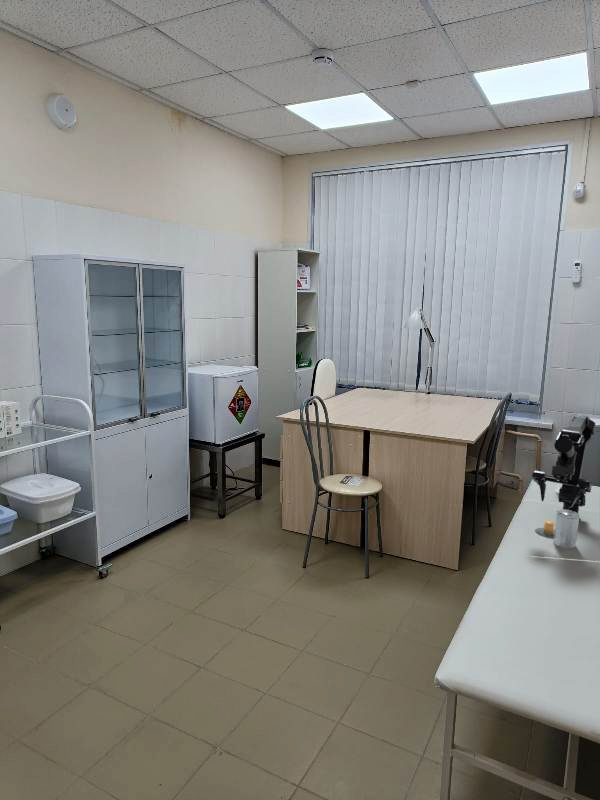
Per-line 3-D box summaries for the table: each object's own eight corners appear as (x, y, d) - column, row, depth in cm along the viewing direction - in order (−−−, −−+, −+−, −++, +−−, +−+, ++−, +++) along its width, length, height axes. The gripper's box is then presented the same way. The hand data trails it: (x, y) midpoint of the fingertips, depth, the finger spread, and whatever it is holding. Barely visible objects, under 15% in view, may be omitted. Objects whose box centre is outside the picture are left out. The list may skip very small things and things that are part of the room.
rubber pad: (532, 528, 209) (532, 526, 209) (557, 530, 207) (557, 528, 207) (538, 538, 200) (538, 537, 200) (564, 540, 199) (564, 538, 198)
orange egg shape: (542, 530, 205) (543, 520, 205) (551, 531, 205) (552, 521, 204) (544, 534, 202) (545, 524, 201) (554, 534, 202) (555, 524, 201)
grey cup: (550, 540, 198) (554, 508, 196) (571, 541, 197) (575, 510, 195) (556, 549, 192) (560, 516, 189) (578, 550, 191) (581, 517, 188)
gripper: (534, 450, 197) (524, 491, 192) (592, 459, 186) (583, 503, 181) (539, 460, 205) (529, 500, 201) (595, 470, 194) (586, 513, 190)
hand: (556, 504), depth 193 cm, fingers open, 9 cm apart
